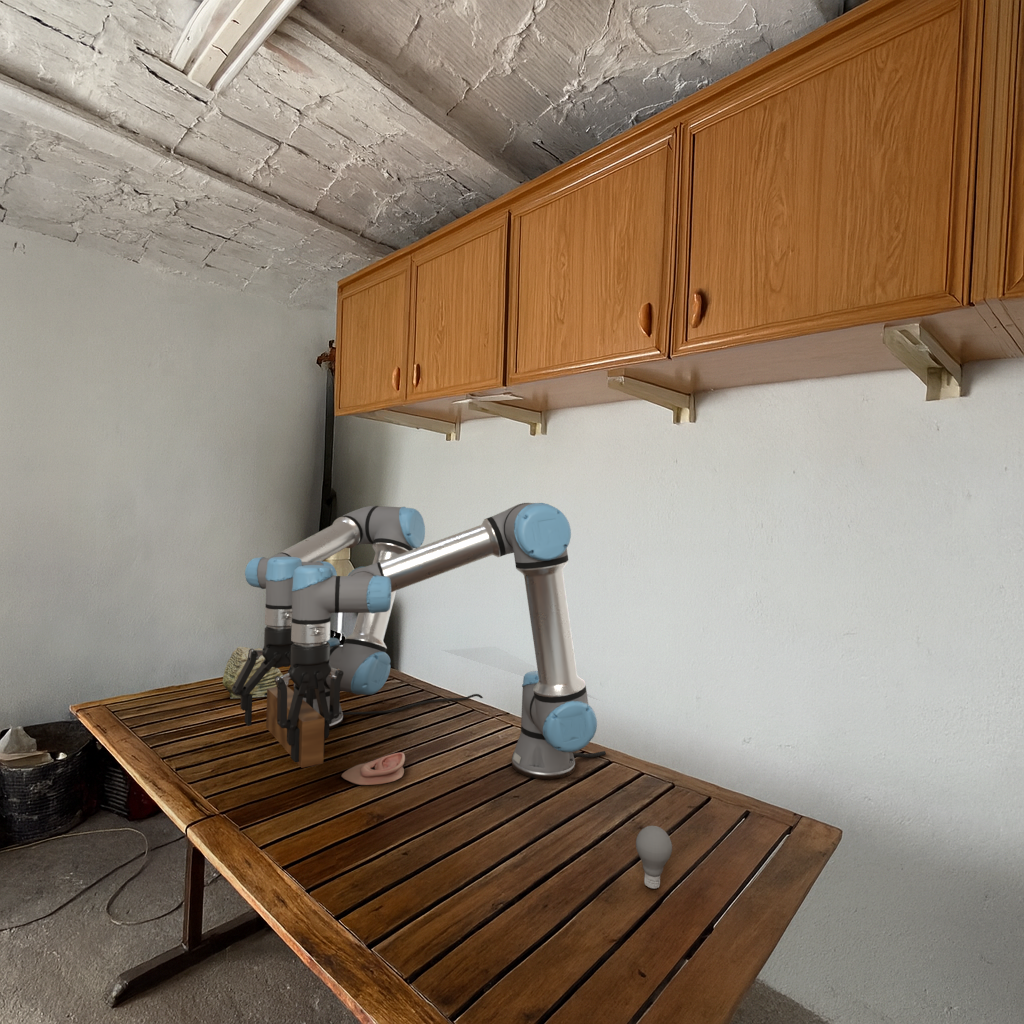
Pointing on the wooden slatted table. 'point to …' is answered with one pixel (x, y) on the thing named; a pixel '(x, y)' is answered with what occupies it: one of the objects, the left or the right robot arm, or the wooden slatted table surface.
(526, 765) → the right robot arm
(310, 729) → the bar
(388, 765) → the anatomical model
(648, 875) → the light bulb
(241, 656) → the fossil
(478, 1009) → the wooden slatted table surface
